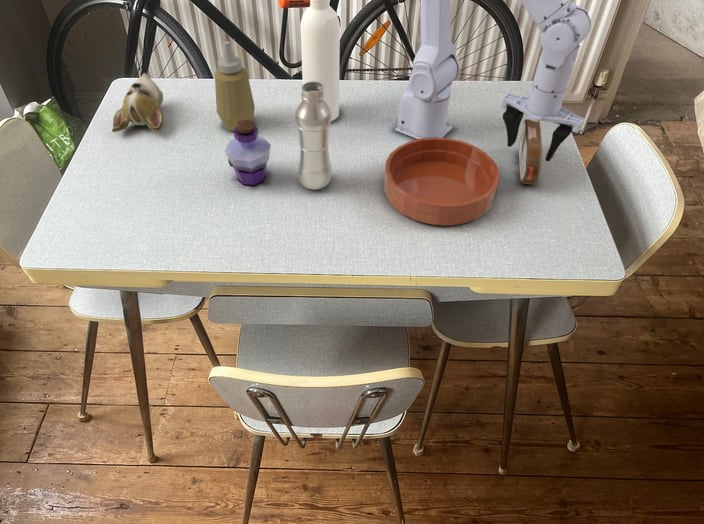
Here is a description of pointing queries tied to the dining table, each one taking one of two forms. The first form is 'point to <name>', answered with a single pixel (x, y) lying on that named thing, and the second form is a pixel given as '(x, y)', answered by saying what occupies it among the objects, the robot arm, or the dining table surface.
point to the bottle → (322, 50)
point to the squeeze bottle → (232, 90)
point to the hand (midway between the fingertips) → (529, 151)
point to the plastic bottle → (313, 137)
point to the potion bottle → (248, 154)
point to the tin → (530, 152)
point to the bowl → (440, 181)
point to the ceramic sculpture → (140, 106)
